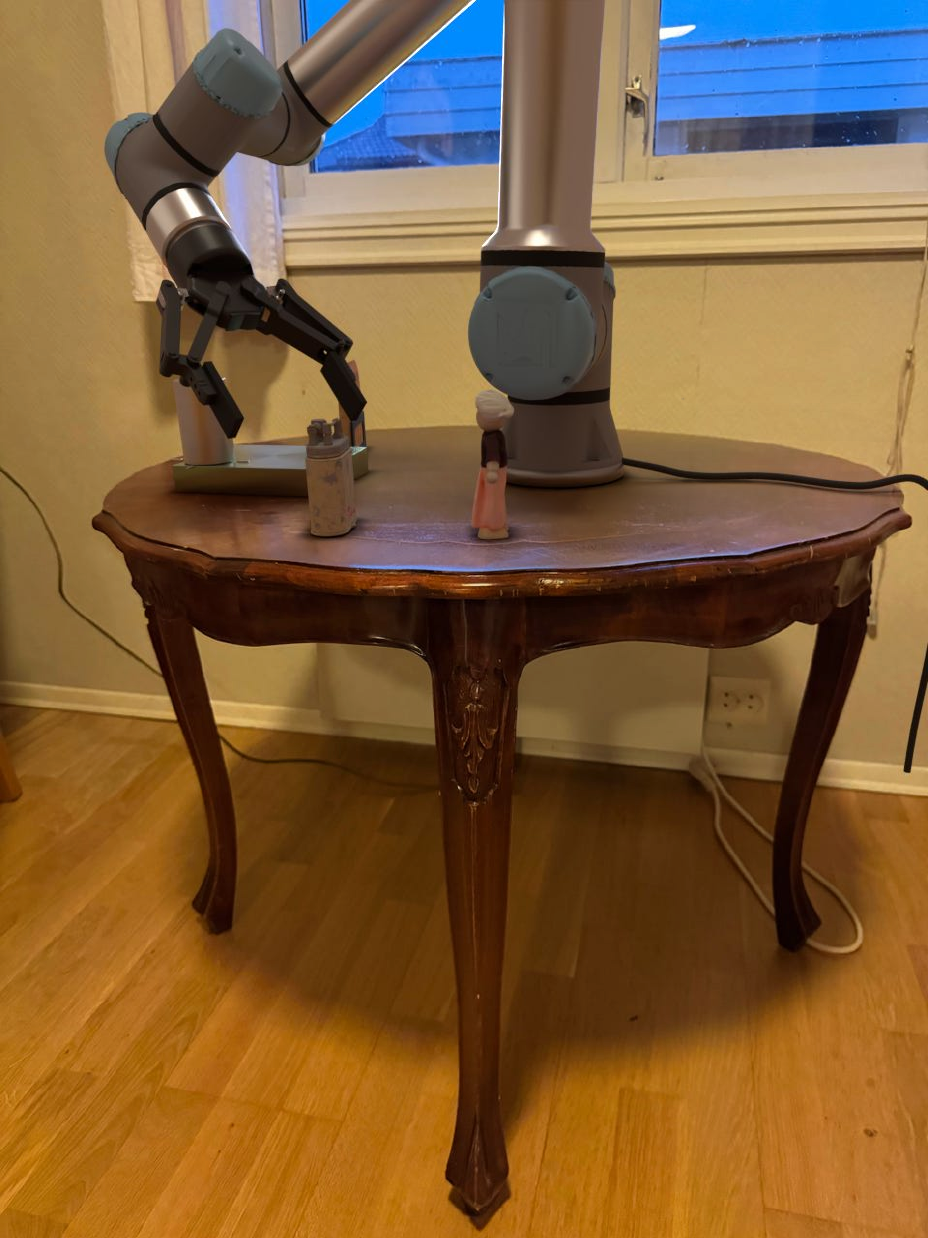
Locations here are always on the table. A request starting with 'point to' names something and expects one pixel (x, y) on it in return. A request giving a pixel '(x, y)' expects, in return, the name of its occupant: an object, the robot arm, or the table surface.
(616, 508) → the table surface
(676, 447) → the table surface
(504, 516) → the grandmother figurine
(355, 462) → the panel
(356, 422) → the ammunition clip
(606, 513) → the table surface
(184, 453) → the grey metal cylinder
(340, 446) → the lighter
